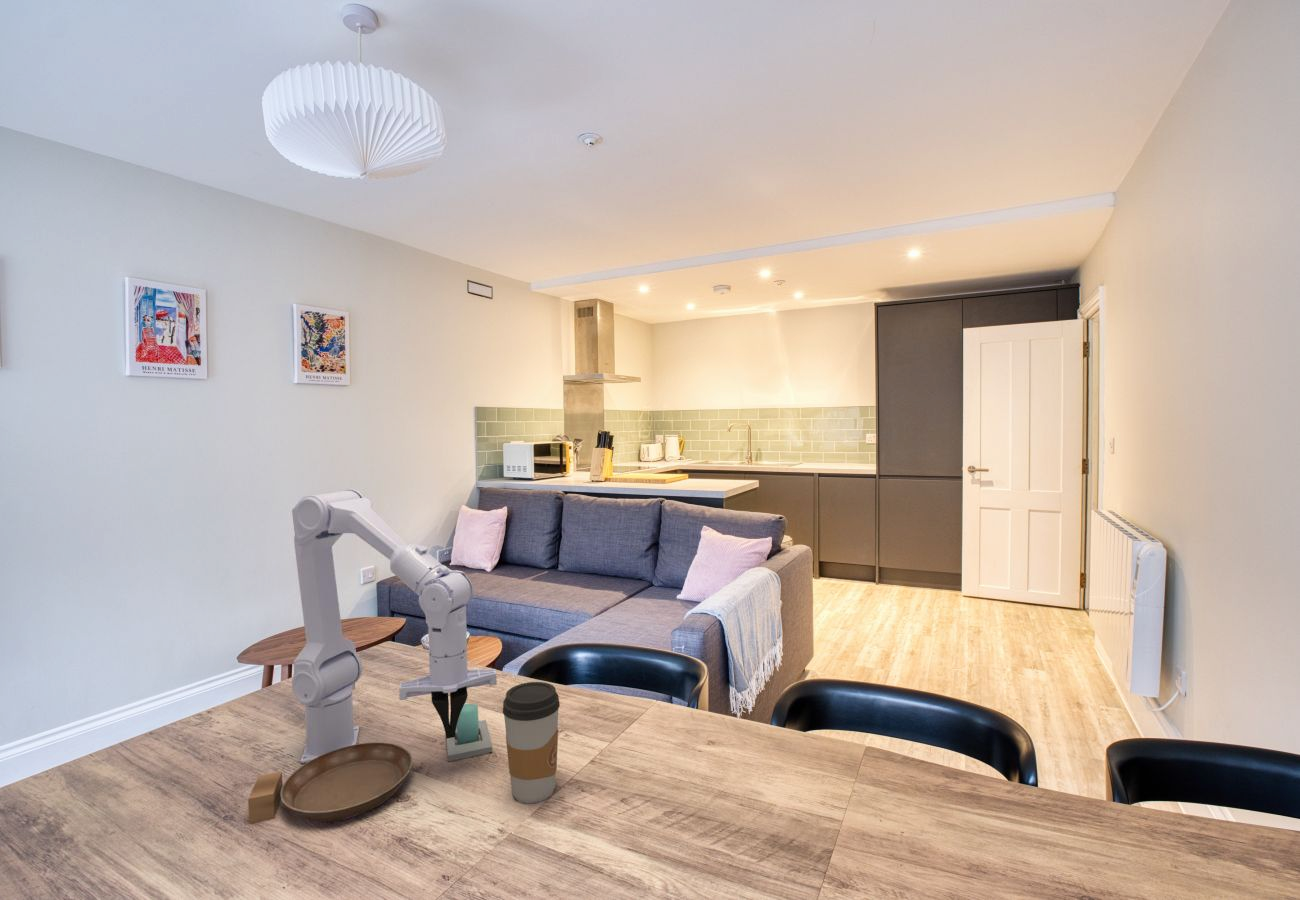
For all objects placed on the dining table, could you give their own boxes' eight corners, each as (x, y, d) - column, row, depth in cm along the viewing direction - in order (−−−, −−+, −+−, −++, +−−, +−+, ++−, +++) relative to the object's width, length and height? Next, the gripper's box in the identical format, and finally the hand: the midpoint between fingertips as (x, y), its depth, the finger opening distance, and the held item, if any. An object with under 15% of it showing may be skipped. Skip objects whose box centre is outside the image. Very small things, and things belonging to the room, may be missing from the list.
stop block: (259, 799, 90) (258, 775, 90) (283, 794, 91) (282, 771, 91) (249, 823, 84) (248, 798, 84) (274, 818, 85) (273, 793, 85)
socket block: (445, 733, 108) (445, 727, 108) (486, 725, 111) (485, 719, 111) (448, 761, 99) (448, 755, 99) (492, 752, 101) (492, 746, 101)
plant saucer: (364, 838, 81) (363, 815, 81) (250, 824, 85) (249, 803, 84) (435, 765, 99) (434, 746, 98) (338, 756, 102) (338, 738, 102)
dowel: (456, 739, 106) (455, 706, 106) (478, 735, 107) (476, 702, 107) (457, 750, 102) (456, 715, 102) (480, 745, 104) (478, 711, 104)
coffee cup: (550, 811, 85) (547, 707, 85) (495, 805, 87) (492, 702, 87) (569, 777, 94) (567, 682, 93) (519, 772, 95) (516, 678, 95)
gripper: (397, 667, 90) (400, 757, 90) (498, 652, 95) (500, 738, 95) (399, 650, 96) (401, 734, 97) (492, 638, 101) (494, 717, 102)
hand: (450, 735), depth 97 cm, fingers closed
